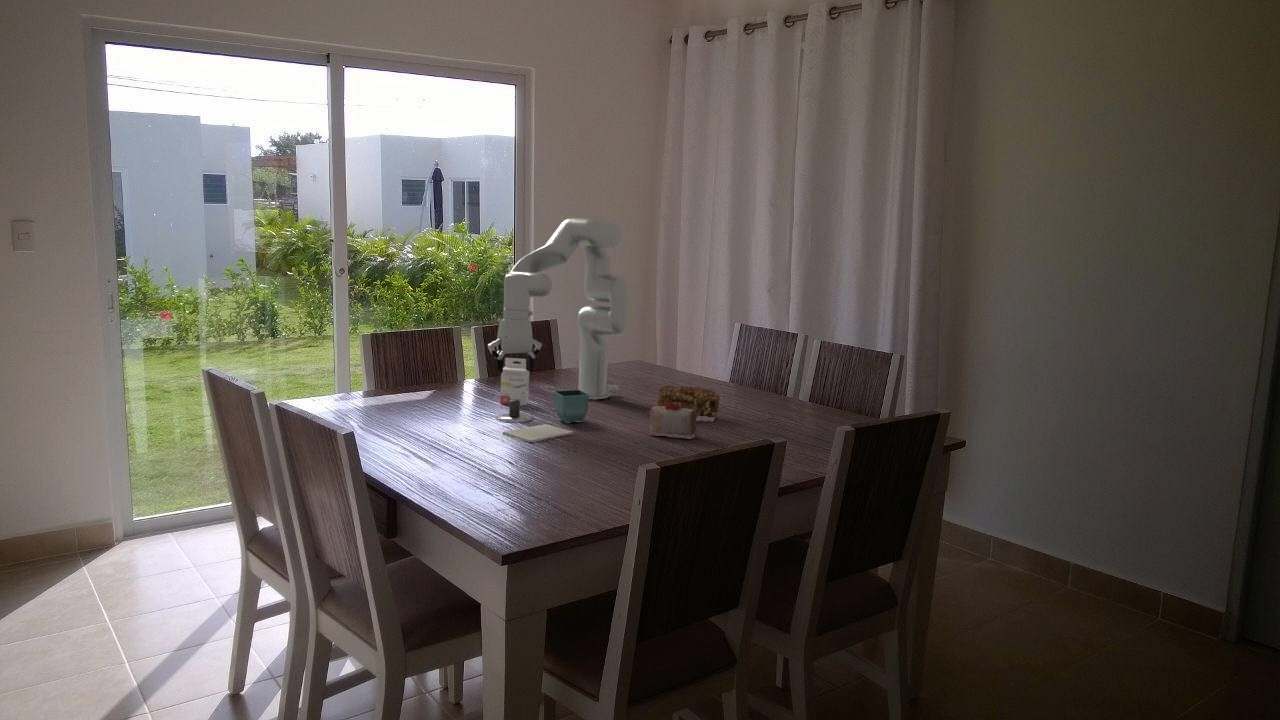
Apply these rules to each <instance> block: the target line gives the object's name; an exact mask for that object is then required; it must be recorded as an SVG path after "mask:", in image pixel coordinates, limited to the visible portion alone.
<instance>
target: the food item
mask: <svg viewBox="0 0 1280 720" xmlns="http://www.w3.org/2000/svg"><path fill="white" fill-rule="evenodd" d="M649 417H650V425H649V432H650V431H651V432H656V433H666V434H678V435H692V434H694V433H695V431H696V432H697V421H696V418H697V411H696V410H694V409H686V408H681V406H680V405H678V404H677V402H675V403H672V402H671V403H669V404H667V406H666V407H663V406H658V405H657V406H652V407H651V409H650V410H649Z"/></svg>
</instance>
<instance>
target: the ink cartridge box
mask: <svg viewBox="0 0 1280 720" xmlns="http://www.w3.org/2000/svg"><path fill="white" fill-rule="evenodd" d="M514 362H518V363H514ZM529 389H530V371H527V370H526V358H516V357H512V358H511V357H505V358H504V366H503V373H500V393H499V394H500V401H499V402H500V403H499V404H500V405H509V400H520V406H523V405H525V406H526V405H527V404H529V394H530V393H529V392H530V391H529Z"/></svg>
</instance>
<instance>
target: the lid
mask: <svg viewBox="0 0 1280 720" xmlns="http://www.w3.org/2000/svg"><path fill="white" fill-rule="evenodd" d="M508 406H509V407H508V412H505V413H499V414H497V415H495V416H496V417H495V419H496V420H497V421H498V420H499V421H498V422H501V421H506V422H505V423H507V422H522V421H528V420H531V419H532V418H534V417H533V415H531V414H528V413H521V405H520V400H509V404H508ZM532 420H533V419H532ZM532 420H531V421H532ZM528 422H529V421H528Z"/></svg>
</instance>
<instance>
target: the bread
mask: <svg viewBox="0 0 1280 720" xmlns="http://www.w3.org/2000/svg"><path fill="white" fill-rule="evenodd" d="M671 402H672V403H675V402H677V404H678V405H680V406H681V408H686V409H694V410H696V411H697V416H708V417H716V415H717V416H718V413H717V412H719V407H720V395H719V394H718V392H717V391H716V390H712V389H707V388H702V387H696V386H681V385H679V386H678V385H677V386H675V385H669V384H668V385H664V386H662V387H660V389H659V391H658V396H657V406H663V407H666V406H667V404H669V403H671Z"/></svg>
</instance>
